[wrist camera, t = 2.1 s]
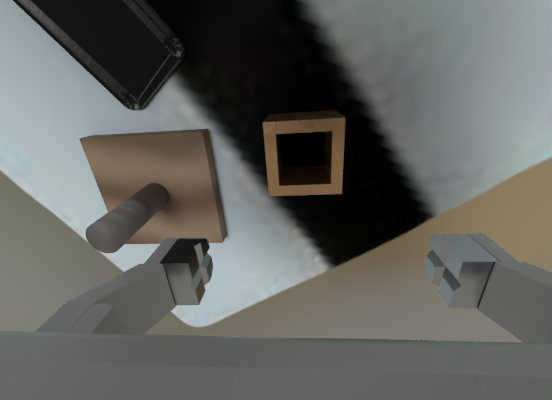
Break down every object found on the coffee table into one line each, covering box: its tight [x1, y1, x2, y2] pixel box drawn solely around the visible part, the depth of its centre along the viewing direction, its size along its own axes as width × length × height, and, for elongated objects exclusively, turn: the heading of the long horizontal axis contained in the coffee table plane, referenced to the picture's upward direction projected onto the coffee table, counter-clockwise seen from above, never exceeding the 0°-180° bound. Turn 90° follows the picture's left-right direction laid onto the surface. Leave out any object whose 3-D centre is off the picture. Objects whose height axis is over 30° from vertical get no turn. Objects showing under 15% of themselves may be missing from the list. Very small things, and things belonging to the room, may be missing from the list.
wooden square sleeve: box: [263, 110, 345, 196], centre depth 22 cm, size 6×6×5 cm
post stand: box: [80, 129, 226, 253], centre depth 23 cm, size 12×12×10 cm
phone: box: [13, 0, 185, 110], centre depth 21 cm, size 8×1×15 cm
